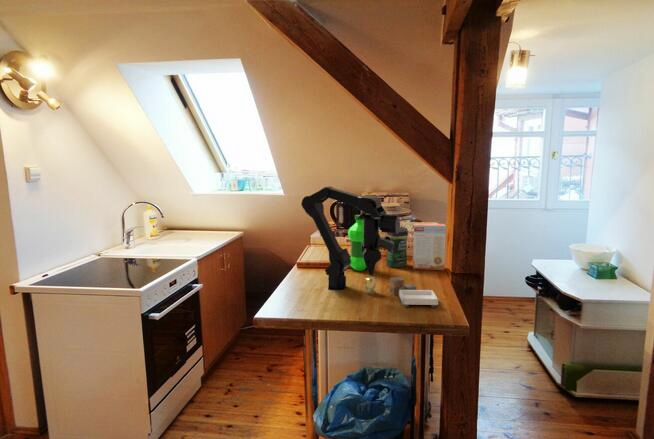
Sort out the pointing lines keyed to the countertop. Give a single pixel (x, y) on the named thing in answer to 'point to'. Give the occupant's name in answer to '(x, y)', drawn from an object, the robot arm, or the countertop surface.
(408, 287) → the grey small block
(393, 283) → the walnut block
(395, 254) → the coffee jar
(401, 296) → the white shallow tray
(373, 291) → the small wooden cylinder
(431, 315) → the countertop surface
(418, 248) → the cracker box
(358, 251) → the plastic bottle
